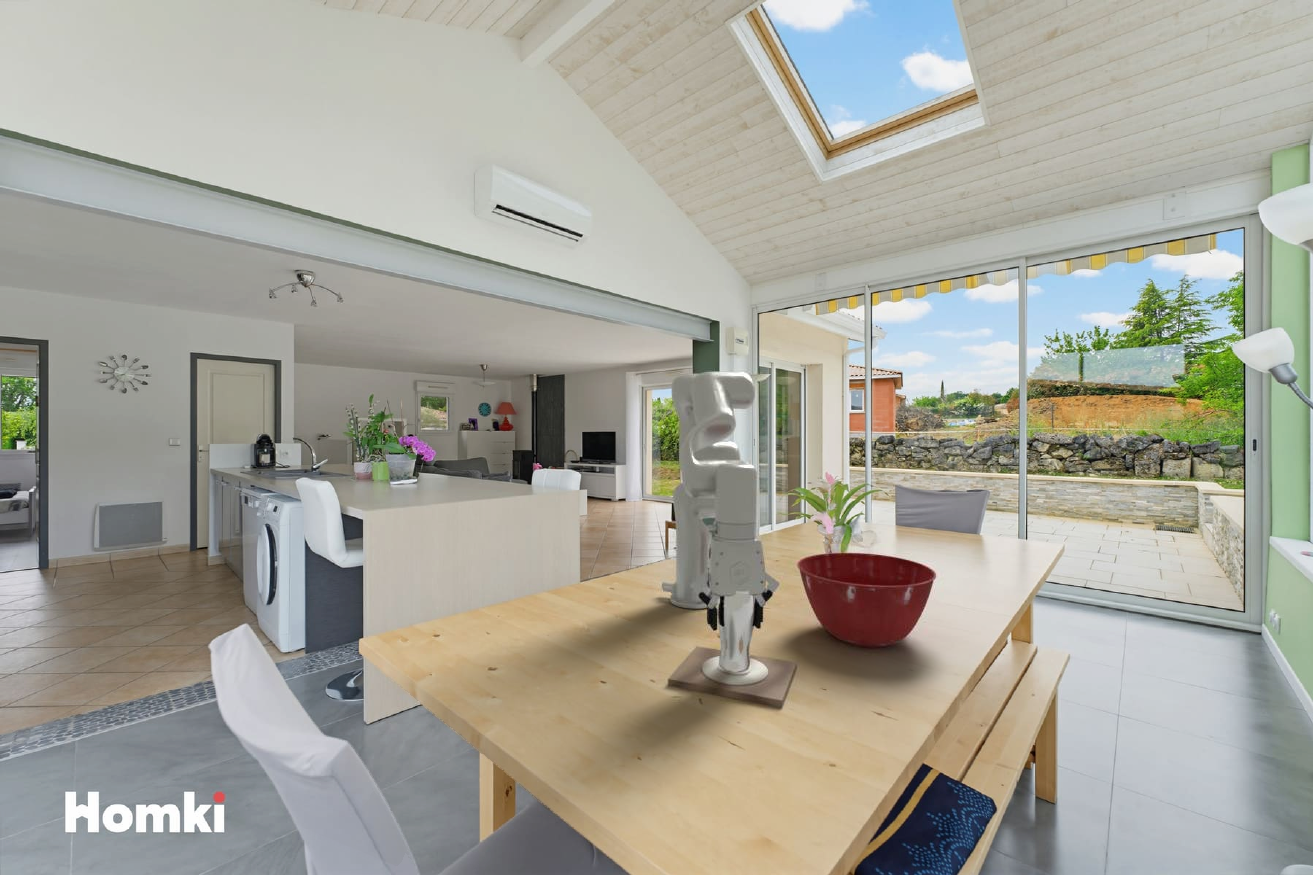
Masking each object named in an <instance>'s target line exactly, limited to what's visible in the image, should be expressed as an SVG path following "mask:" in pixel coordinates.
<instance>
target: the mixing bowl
mask: <svg viewBox="0 0 1313 875" xmlns="http://www.w3.org/2000/svg"><path fill="white" fill-rule="evenodd" d="M796 566H797V568H798V570H799V572H800V579H801V580H802V585H803V588H804V592H805V595H806V596H807V599H808V601H809V602H808V603H809V604H810V606H811V608H812V610H813V612H814V615H815V617H816V619H817V621H818V622H819V624H820V625H821V626H822V627H823V629H825V630H826V631H827V632H828V633H829V634H830V635H832V636H833V637H835V638H836V639H837V640H840V641H842V642H844V643H846V644H850V645H854V646H858V647H863V648H885V647H889V646H893V645H895V644H897V643H898V642H901V641H903V640H904V639H905V638H906V637H908V636H909V634H911V632H912V631H913V630H914V629H915V627H916V625H917V624H918V622H919V620H920V618H921V617H922V614H923V612H924V609H925V608H926V605H927V604H928V600H929V597H930V594H931V591H932V588H933V584H934V581H935V579H936V578H937V572H936V571H935V570H933V569H932V568H931V567H929V566H927V565H925V564H922V563H919V562H917V561H913V560H910V559H906V558H903V557H902V558H901V557H896V556H890V555H884V554H874V553H861V552H832V553H831V552H827V553H819V554H814V555H810V556H805V557H803V558H802V559H800V560H799V561H797V564H796Z"/></svg>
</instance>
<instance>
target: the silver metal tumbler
mask: <svg viewBox="0 0 1313 875" xmlns="http://www.w3.org/2000/svg"><path fill="white" fill-rule="evenodd" d="M748 592H749V591H736V594H735V595H733V596H724V597H722V596H720V598H719V599H718V603H717V626H718V630H719V639H720V650H721V652H720V657H719V662H718V668H719V669H720V670H721V671H723V672H726V673H729V674H735V675H741V674H746V673H748V672H750V671H751V661H750V655H751V654H750V653H751V651H750V649H751V642H752V638H753V637H752V636H753V634H754V633H753V632H754V627H755V626H754V623H755V616H756V598H755V595H753V596H752V595H749V593H748Z"/></svg>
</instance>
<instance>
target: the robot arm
mask: <svg viewBox="0 0 1313 875" xmlns="http://www.w3.org/2000/svg"><path fill="white" fill-rule="evenodd" d="M755 395H756V389H755V384H754V381H753V379H752V378H751V376H750V375H749V374H748V373H746V372H743V371H704V372H700V373H685V374H681V375H678V376H676V377H675V378H674V379H673V380H672V383H671V399H672V403H673V407H674V409H675V412H676V416H677V420H678V427H679V431H678V432H679V434H678V435H679V436H678V438H679V442H678V460H679V461H678V464H679V465H678V466H679V468H680V469H679V470H680V472H681V480H682V482H681V483H679V484H677V485H676V486H675V487H674V490H673V493H672V502H673V510H674V518H675V535H676V536H675V548H676V549H675V582H674V581H673V583H671V582H667V581H663V582H661V589H662V591H663V592H667V593H668V592H670V593H671V594H670V596H669V602H670V603H671V604H672V605H674V606H676V607H679V608H684V609H692V610H694V609H695V610H696V609H697V610H698V609H699V610H700V609H706V622H707V625H709V626H710V628H711V629H712V631H715V632H716V631H717V630H718V607H716V605H718V599H719V598H720V596H722V597H724V596H733V595H735V594H736V591H749V592H748V593H749V595H752V596H753V595H755V598H756V616H755V623H754V627H755V628H756V629H761V627H762V623H763V622H764V607H765V606H766V603H768V601H769V600H770V599H771V598H772V597H773V595H774V593H775V592H776V591H777V589H778V588H779V586H780V582H779V581H777V580H776V578H774V577H772V576H771V575H770V574H768V573H767V572H766V566H765V565H766V564H765V557H764V556H765V554H764V548H763V543H762V542H763V541H762V539H761V538H759V537H758V536H757V520H758V519H757V513H758V512H757V511H758V510H757V508H758V507H757V506H758V503H757V502H758V498H757V496H758V495H757V494H758V492H757V491H758V490H757V488H758V482H757V481H758V475H757V474H758V472H757V469H756V467H755V466H754V465H753V464H751V463H749V462H748V461H746V460H741V453H740V450H739V447H738V445H737V444H736V443H735V442H734V441H730V440H727V439H728V438H729V437H731V435H733V433H734V432H735V429H736V426H737V424H736V423H737V421H736V418H735V417H736V416H735V413H734V410H735V409H738V410H739V409H740V410H747V409H749V408H750V407H752V405H753V404H754V401H755V397H756V396H755ZM709 518H710V519H714V520H713V523H712V524H711V525H710V524H708V525H707V524H705V523H704V521H703V519H709ZM713 535H714V536H713ZM766 582H767V583H768V584H767V586H766Z"/></svg>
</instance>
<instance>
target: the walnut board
mask: <svg viewBox="0 0 1313 875" xmlns="http://www.w3.org/2000/svg"><path fill="white" fill-rule="evenodd" d="M720 652H721V649H715V648H709V647H703V646H697V645H696V646H695V648H693V650H692V651H691V652H690V653H689V654H688V655H687V656H686V657H685V659H684V660H683V661H682V662H681V663H680V664H679V666H678V667H677V668H676V669H675V671H673V673H672V674H671V675H670V676H669V677H668V678H667V685H668V687H669V686H670V687H674V688H677V689H678V688H679V689H684V690H688V691H689V690H690V691H694V692H700V693H704V694H709V695H715V696H719V697H720V696H721V697H724V698H731V699H735V700H741V701H746V702H750V703H756V704H761V705H766V706H770V707H771V706H772V707H776V708H780V709H782V708H783V707H784V705H785V701H786V699H787V696H788V693H789V690H790V688H791V685H792V683H793V680H794V677H795V675H796V672H797V668H798V667H797V666H798V663H797V662H796V661H790V660H785V659H784V660H783V659H779V658H773V657H772V658H771V657H766V656H759V655H752V654H750V661H751V671H750V672H748V673H746V674H741V675H735V674H729V673H726V672H723V671H721V670H720V669H719V668H718V662H719V657H720Z"/></svg>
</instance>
